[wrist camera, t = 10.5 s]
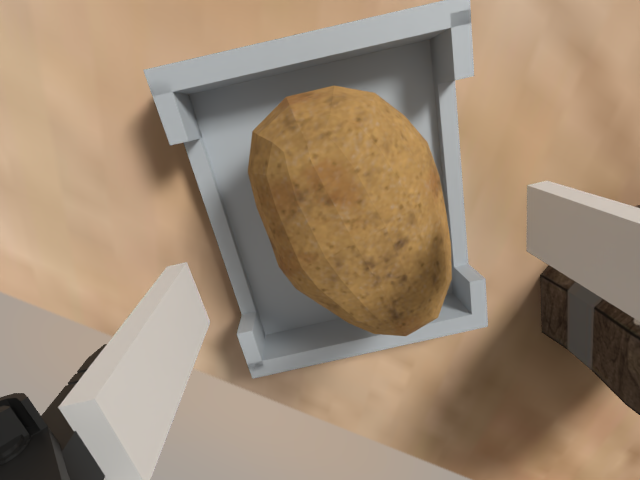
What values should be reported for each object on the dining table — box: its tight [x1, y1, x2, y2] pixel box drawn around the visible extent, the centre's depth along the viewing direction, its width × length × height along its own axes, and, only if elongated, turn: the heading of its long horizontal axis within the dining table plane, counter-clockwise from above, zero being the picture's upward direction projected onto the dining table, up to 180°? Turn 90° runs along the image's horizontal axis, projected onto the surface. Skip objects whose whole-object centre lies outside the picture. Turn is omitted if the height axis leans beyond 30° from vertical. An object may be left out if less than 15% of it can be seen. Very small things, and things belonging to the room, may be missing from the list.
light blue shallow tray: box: [144, 0, 488, 379], centre depth 22 cm, size 19×16×4 cm
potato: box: [248, 85, 452, 336], centre depth 19 cm, size 10×14×8 cm
